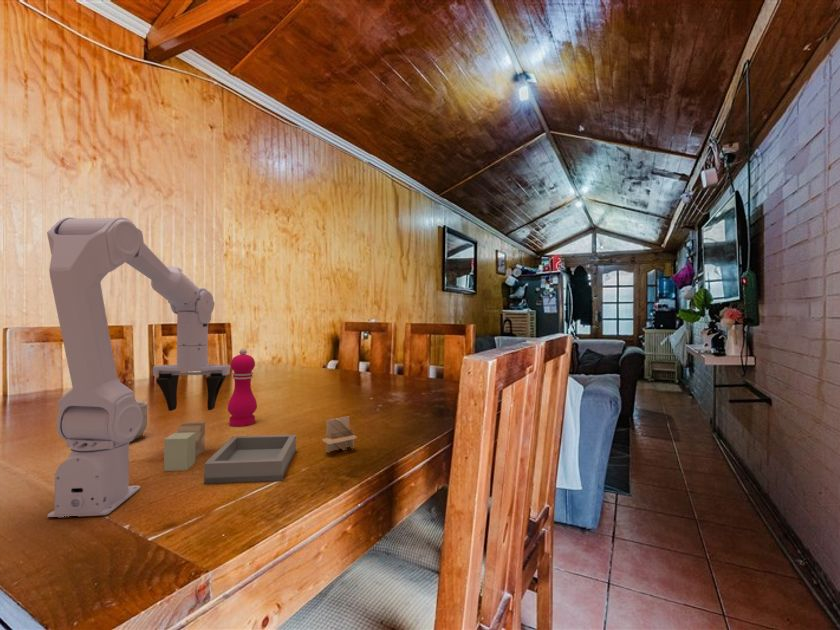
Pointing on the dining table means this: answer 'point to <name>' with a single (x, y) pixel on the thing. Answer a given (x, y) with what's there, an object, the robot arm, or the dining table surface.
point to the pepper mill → (242, 391)
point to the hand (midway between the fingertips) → (191, 409)
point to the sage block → (179, 451)
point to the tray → (251, 459)
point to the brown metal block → (200, 434)
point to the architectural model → (338, 434)
